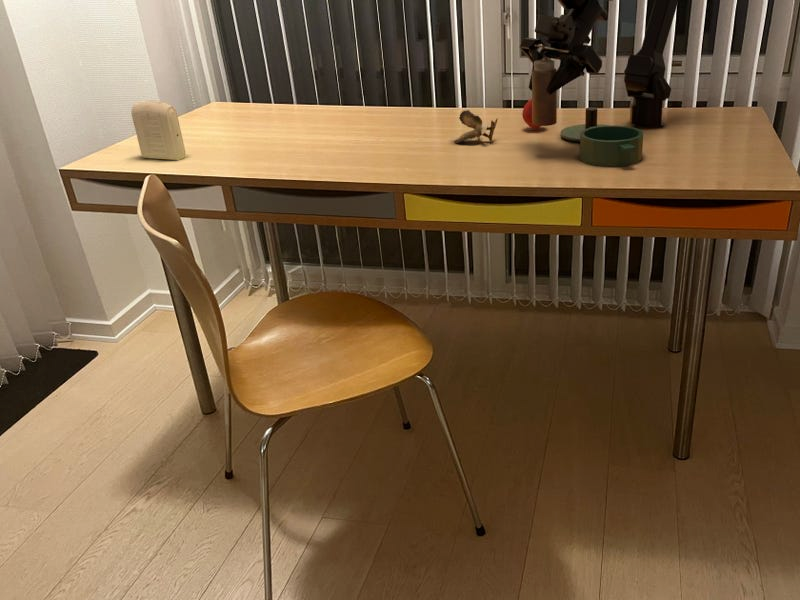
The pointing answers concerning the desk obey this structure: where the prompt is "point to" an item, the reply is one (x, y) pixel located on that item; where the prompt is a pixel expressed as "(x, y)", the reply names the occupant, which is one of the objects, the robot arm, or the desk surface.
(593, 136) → the pot
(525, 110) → the onion
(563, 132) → the lid
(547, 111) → the pepper mill
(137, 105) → the photo printer
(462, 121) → the eagle figurine
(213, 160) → the desk surface
